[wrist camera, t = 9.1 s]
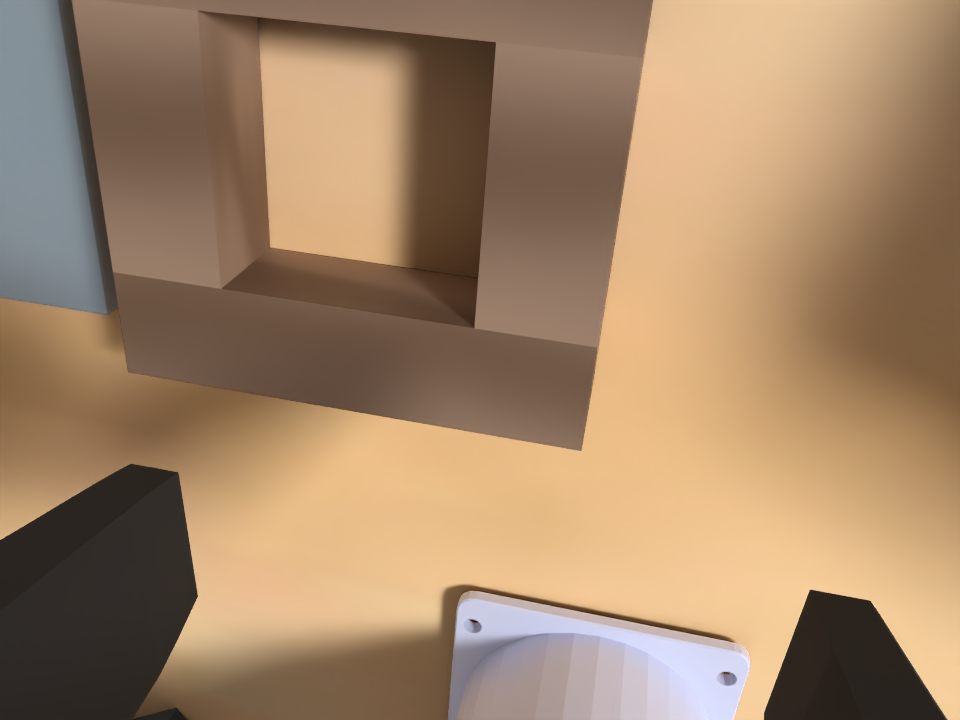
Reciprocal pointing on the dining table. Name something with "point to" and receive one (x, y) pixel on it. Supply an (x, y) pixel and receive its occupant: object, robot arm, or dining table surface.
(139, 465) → the robot arm
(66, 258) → the rubber mat
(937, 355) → the dining table surface
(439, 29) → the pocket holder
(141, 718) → the watch
